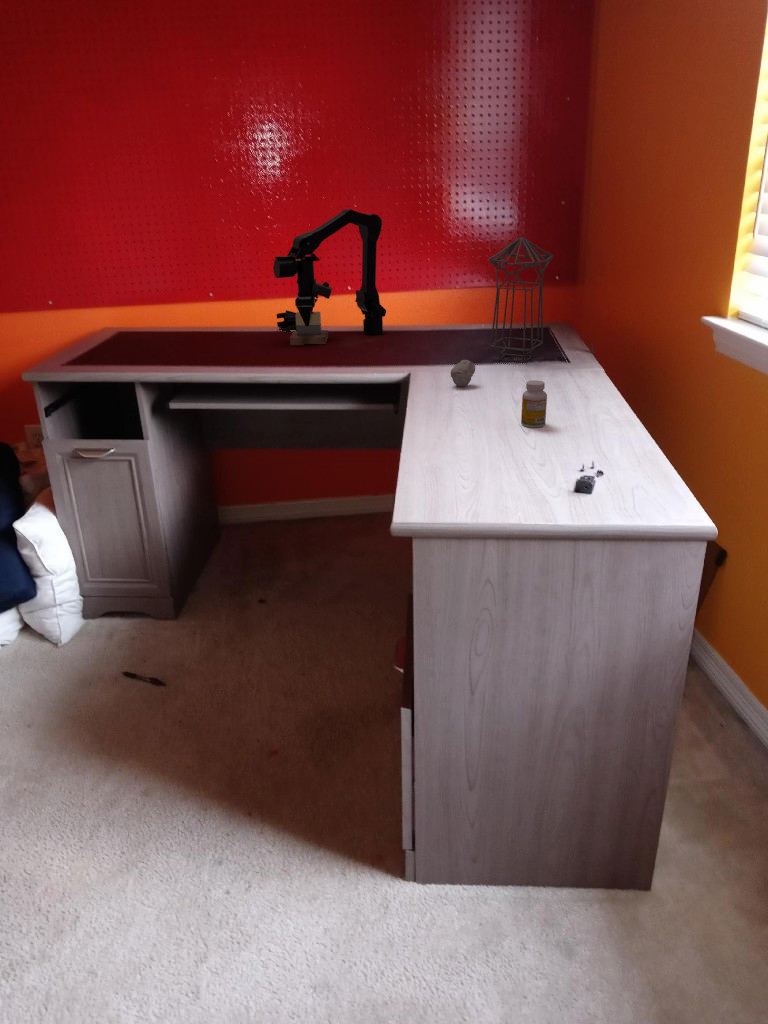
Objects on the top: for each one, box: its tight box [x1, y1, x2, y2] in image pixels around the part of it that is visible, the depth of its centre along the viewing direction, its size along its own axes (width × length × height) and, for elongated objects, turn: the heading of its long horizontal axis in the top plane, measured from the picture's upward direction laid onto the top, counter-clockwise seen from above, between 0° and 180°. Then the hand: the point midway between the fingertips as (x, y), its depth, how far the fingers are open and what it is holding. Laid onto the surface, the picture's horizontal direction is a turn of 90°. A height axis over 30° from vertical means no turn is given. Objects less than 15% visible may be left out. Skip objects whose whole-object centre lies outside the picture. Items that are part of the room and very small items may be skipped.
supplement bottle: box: [520, 379, 548, 429], centre depth 175 cm, size 5×5×10 cm
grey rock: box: [450, 359, 476, 388], centre depth 208 cm, size 6×7×7 cm
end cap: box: [276, 309, 297, 332], centre depth 285 cm, size 10×7×7 cm
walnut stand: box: [289, 329, 329, 346], centre depth 268 cm, size 12×12×2 cm
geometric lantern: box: [487, 237, 554, 363], centre depth 230 cm, size 16×16×35 cm
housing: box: [295, 311, 322, 336], centre depth 266 cm, size 5×8×7 cm, turn 90°
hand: (308, 323), depth 266 cm, fingers open, 9 cm apart
